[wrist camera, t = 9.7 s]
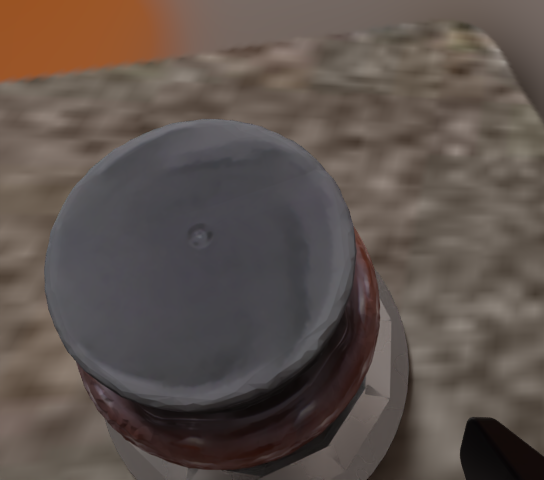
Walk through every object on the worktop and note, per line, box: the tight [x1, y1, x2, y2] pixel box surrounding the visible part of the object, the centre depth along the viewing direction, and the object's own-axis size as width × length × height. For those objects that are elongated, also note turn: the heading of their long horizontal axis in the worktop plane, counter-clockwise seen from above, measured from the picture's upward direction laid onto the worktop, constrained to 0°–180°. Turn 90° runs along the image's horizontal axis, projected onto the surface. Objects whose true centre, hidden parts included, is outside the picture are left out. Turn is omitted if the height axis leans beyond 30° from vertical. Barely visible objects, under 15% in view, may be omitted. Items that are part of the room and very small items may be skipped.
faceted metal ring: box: [105, 269, 409, 480], centre depth 15 cm, size 12×12×2 cm
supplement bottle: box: [44, 119, 380, 470], centre depth 10 cm, size 6×6×11 cm
